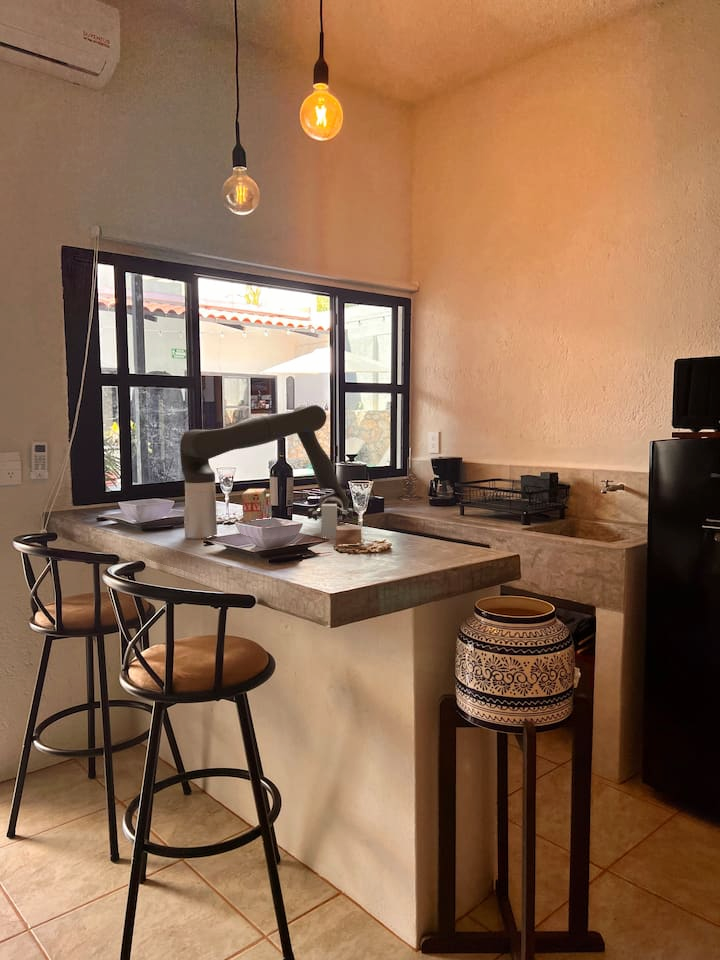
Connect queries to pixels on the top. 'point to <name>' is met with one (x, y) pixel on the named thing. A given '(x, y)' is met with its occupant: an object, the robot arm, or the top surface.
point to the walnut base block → (348, 534)
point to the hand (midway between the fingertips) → (329, 516)
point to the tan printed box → (256, 504)
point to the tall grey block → (329, 520)
